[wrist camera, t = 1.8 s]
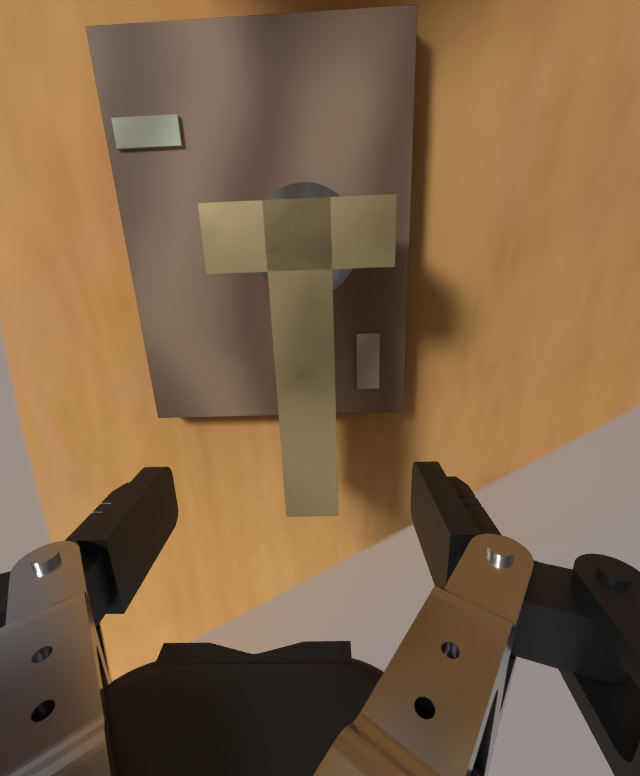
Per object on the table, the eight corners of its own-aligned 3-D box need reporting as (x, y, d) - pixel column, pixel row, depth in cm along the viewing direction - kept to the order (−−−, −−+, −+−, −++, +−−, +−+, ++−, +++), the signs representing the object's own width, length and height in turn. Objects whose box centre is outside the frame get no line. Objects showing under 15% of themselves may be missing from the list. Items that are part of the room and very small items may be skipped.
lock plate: (409, 26, 17) (418, 1, 15) (398, 402, 22) (403, 413, 21) (105, 46, 17) (82, 23, 16) (169, 408, 23) (156, 419, 21)
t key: (379, 183, 17) (397, 151, 12) (376, 460, 22) (389, 515, 17) (229, 190, 17) (192, 161, 13) (257, 463, 22) (237, 517, 17)
